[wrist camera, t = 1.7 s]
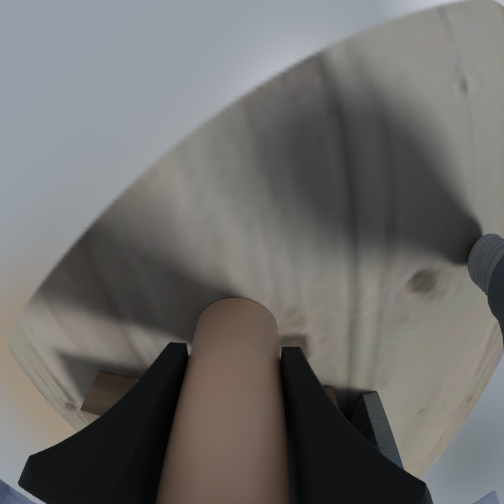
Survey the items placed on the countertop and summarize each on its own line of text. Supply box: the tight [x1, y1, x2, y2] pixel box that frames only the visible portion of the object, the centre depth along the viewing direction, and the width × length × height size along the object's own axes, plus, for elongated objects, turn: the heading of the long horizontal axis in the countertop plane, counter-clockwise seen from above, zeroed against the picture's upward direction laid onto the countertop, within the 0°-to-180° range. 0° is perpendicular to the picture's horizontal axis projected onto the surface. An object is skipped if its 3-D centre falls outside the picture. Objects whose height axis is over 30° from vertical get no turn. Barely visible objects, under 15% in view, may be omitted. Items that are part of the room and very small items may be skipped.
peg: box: [155, 298, 292, 504], centre depth 8 cm, size 3×3×8 cm
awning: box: [349, 392, 404, 470], centre depth 12 cm, size 10×6×7 cm, turn 179°
